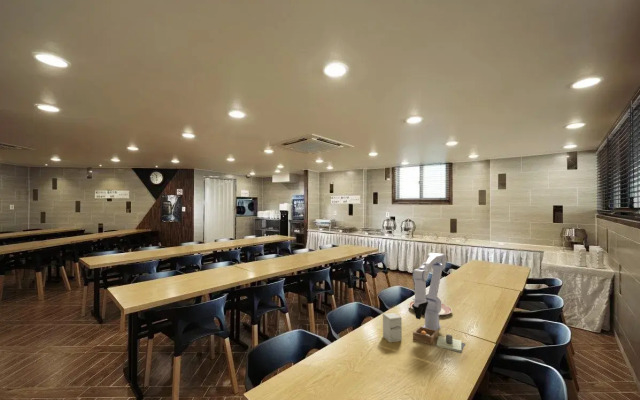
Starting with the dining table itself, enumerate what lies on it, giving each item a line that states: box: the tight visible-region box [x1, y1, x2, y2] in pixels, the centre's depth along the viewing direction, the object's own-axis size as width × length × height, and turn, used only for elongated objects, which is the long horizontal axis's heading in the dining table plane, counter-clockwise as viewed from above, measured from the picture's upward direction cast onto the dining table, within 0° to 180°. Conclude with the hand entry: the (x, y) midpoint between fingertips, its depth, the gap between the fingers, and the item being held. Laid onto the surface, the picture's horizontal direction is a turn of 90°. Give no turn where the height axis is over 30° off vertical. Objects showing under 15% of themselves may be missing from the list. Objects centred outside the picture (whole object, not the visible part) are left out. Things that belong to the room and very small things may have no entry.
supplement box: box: [382, 312, 403, 343], centre depth 146 cm, size 7×7×13 cm
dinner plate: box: [408, 300, 453, 317], centre depth 187 cm, size 27×27×3 cm
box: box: [412, 325, 439, 346], centre depth 146 cm, size 10×10×4 cm
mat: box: [434, 342, 466, 354], centre depth 139 cm, size 12×12×1 cm
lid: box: [436, 334, 463, 353], centre depth 139 cm, size 11×11×4 cm
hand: (420, 316), depth 150 cm, fingers open, 7 cm apart
